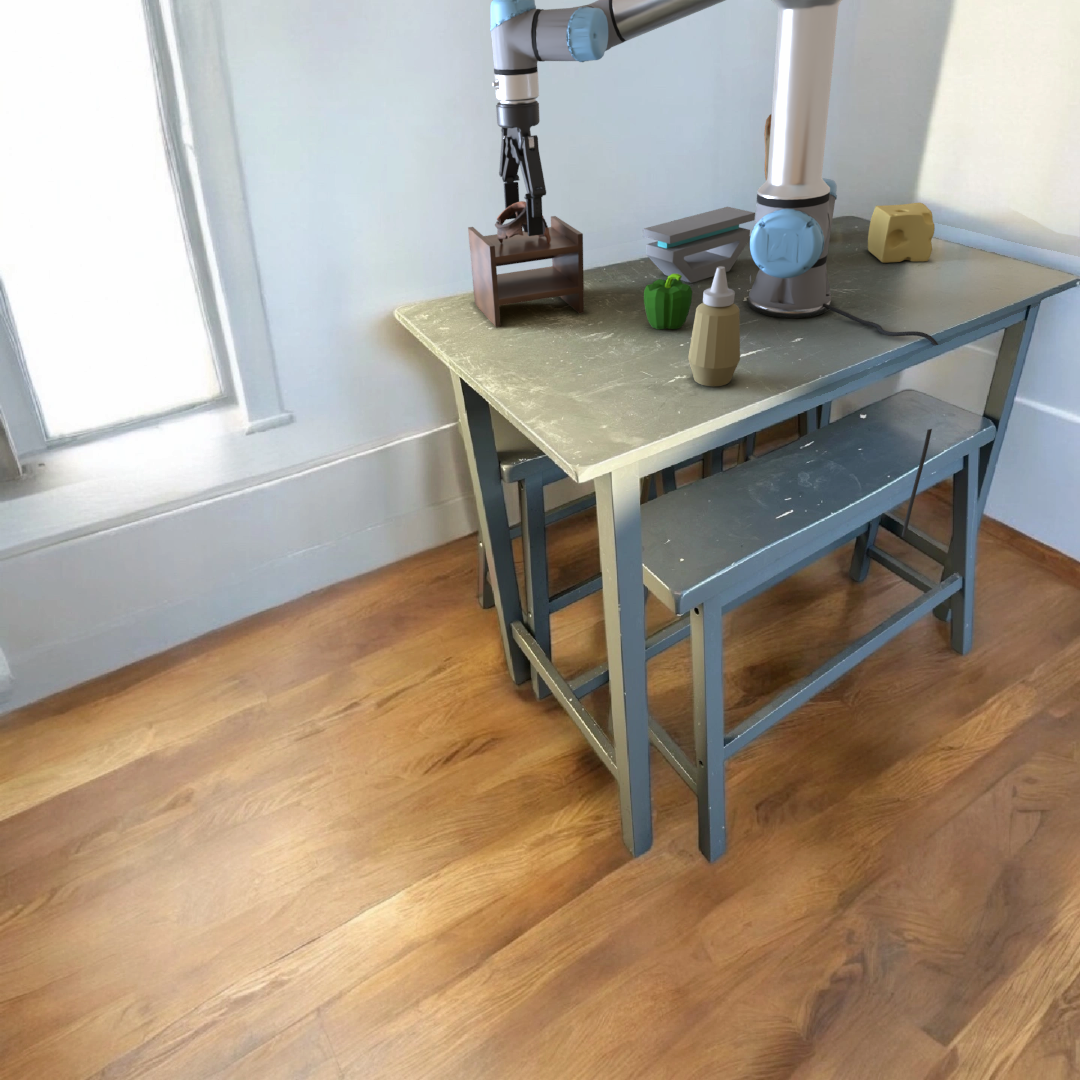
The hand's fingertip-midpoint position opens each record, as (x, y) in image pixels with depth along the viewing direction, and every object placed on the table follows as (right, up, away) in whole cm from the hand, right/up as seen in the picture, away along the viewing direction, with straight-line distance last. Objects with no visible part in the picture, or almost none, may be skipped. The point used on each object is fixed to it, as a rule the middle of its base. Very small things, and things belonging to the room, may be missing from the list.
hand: (523, 226), depth 160 cm
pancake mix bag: (+60, +11, +39) cm, 73 cm away
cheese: (+81, +3, +26) cm, 86 cm away
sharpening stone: (+37, -2, +23) cm, 43 cm away
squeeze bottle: (+31, -34, -23) cm, 51 cm away
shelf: (+1, -13, +9) cm, 16 cm away
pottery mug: (0, -2, +2) cm, 3 cm away
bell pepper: (+26, -20, -3) cm, 33 cm away
